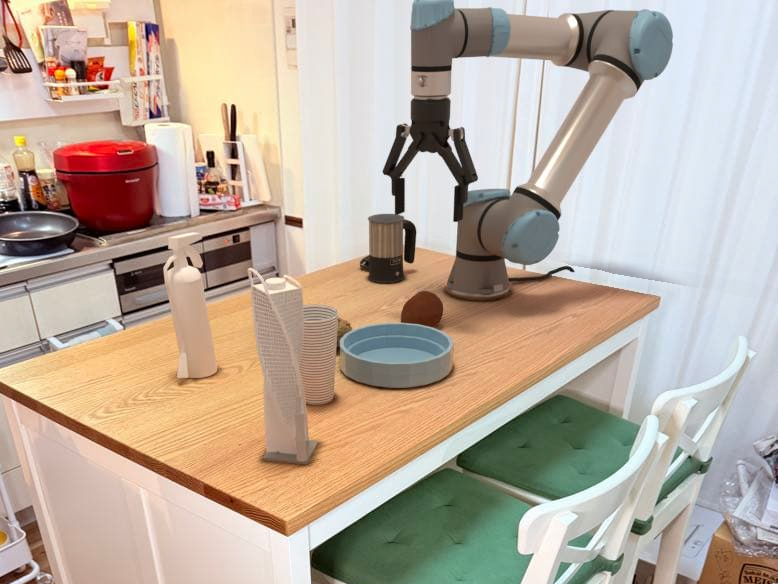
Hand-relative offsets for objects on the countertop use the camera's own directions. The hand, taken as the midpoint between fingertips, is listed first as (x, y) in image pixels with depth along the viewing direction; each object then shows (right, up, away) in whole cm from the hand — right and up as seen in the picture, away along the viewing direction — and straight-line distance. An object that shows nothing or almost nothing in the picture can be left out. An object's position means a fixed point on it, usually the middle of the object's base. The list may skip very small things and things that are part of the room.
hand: (428, 216), depth 157 cm
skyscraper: (-25, -52, -35) cm, 67 cm away
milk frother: (-9, +3, +44) cm, 45 cm away
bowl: (-7, -32, -7) cm, 34 cm away
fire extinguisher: (-45, -34, -9) cm, 57 cm away
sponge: (-25, -25, +3) cm, 36 cm away
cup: (-21, -41, -19) cm, 49 cm away
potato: (-1, -20, +10) cm, 23 cm away
